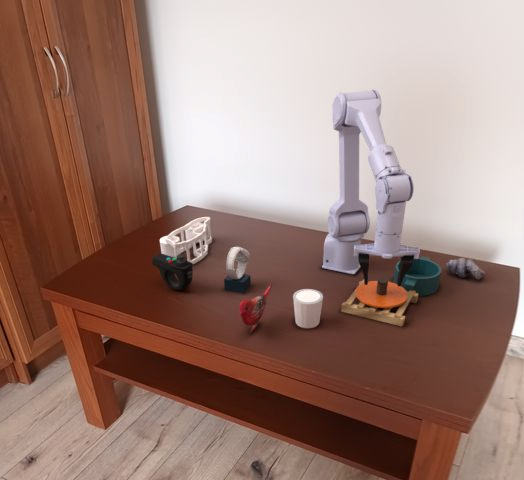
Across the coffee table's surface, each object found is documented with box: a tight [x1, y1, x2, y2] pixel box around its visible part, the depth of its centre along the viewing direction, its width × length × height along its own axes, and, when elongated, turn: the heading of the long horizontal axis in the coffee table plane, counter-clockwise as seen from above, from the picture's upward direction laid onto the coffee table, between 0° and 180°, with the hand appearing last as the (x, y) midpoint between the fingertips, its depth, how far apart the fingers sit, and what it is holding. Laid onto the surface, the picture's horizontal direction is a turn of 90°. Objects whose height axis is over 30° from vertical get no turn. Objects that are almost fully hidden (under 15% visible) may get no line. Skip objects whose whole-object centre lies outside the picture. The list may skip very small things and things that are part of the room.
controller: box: [151, 253, 194, 291], centre depth 136 cm, size 4×12×10 cm, turn 54°
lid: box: [355, 277, 408, 309], centre depth 126 cm, size 12×12×4 cm
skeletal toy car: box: [159, 216, 213, 265], centre depth 153 cm, size 20×11×7 cm, turn 147°
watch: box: [223, 246, 252, 294], centre depth 135 cm, size 6×8×11 cm
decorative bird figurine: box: [238, 283, 273, 334], centre depth 121 cm, size 3×18×10 cm, turn 156°
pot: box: [392, 256, 443, 297], centre depth 135 cm, size 11×17×5 cm
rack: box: [340, 278, 419, 327], centre depth 128 cm, size 15×13×3 cm
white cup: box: [292, 288, 324, 329], centre depth 122 cm, size 7×7×7 cm
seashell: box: [445, 257, 485, 280], centre depth 138 cm, size 5×5×10 cm
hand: (382, 283), depth 125 cm, fingers open, 7 cm apart
